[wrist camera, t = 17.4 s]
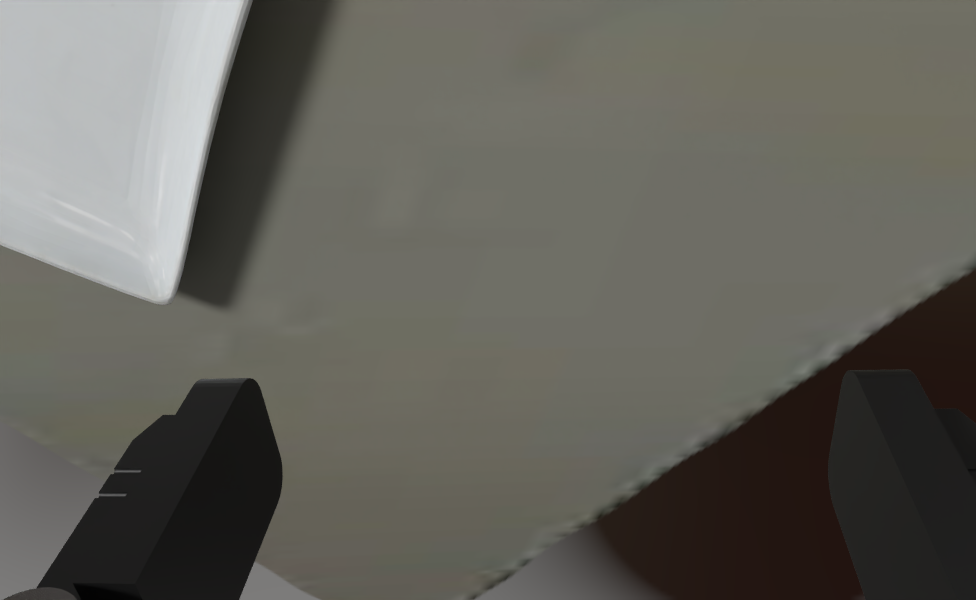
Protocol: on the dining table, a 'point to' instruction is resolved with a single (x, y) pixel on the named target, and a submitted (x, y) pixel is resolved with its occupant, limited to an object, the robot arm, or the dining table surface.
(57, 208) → the square plate
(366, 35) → the dining table surface
